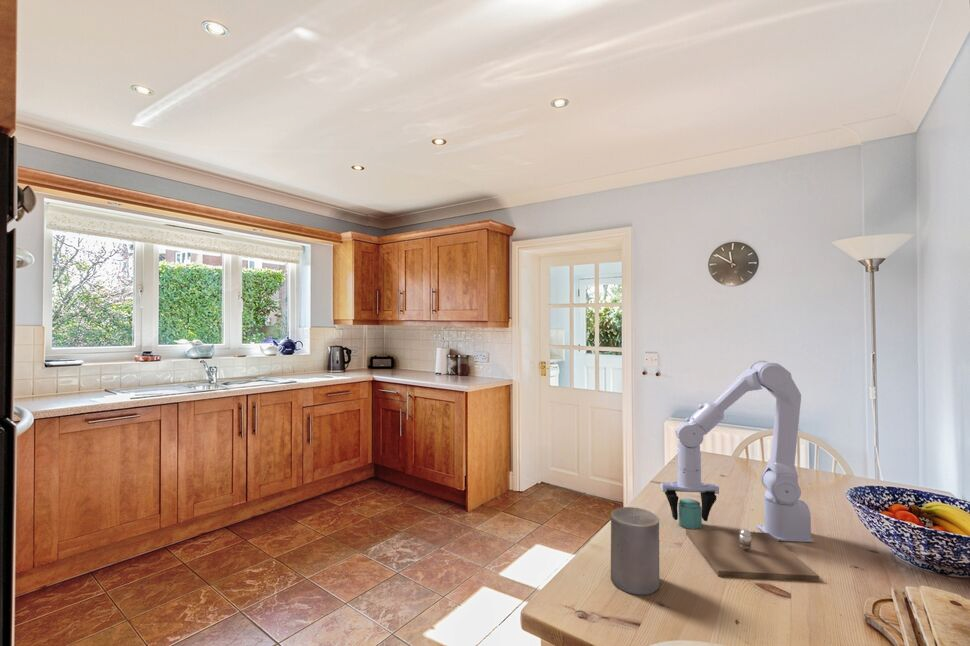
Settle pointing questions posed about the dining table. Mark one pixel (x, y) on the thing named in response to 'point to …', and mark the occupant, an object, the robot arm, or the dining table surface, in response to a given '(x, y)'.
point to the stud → (745, 539)
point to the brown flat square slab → (749, 556)
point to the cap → (689, 513)
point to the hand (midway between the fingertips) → (689, 519)
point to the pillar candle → (635, 550)
